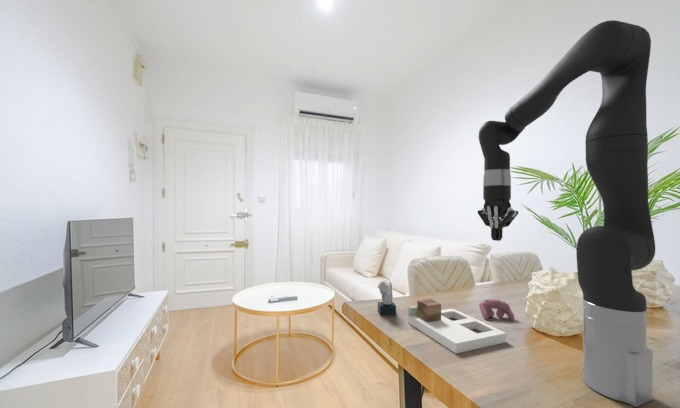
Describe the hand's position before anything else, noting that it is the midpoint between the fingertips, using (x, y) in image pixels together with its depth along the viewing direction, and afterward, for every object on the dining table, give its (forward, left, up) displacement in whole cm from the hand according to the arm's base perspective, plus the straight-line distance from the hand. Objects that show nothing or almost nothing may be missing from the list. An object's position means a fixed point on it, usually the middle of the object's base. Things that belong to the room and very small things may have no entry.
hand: (496, 240), depth 86 cm
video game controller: (+6, -7, -27) cm, 29 cm away
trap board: (+2, +15, -27) cm, 31 cm away
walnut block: (+8, +20, -24) cm, 32 cm away
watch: (+22, +26, -27) cm, 44 cm away
